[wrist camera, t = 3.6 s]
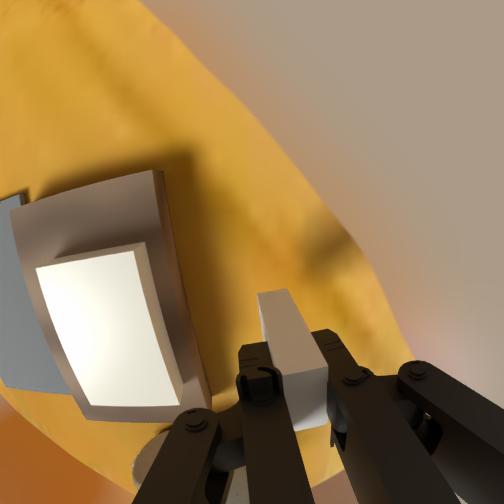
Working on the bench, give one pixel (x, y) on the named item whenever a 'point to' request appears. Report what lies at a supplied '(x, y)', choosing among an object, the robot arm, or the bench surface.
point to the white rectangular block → (112, 326)
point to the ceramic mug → (144, 460)
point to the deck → (102, 237)
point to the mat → (21, 321)
